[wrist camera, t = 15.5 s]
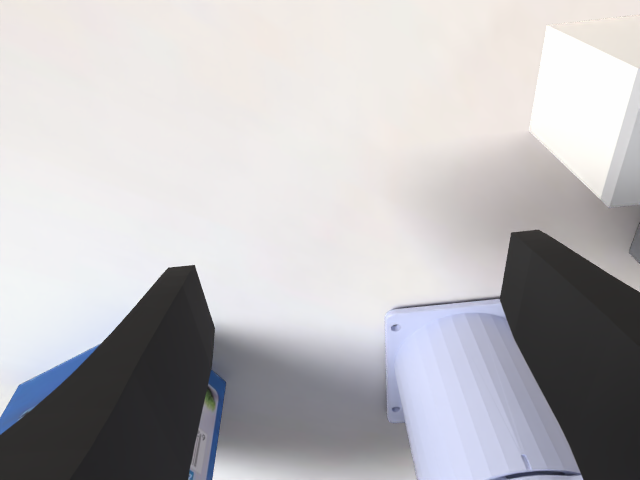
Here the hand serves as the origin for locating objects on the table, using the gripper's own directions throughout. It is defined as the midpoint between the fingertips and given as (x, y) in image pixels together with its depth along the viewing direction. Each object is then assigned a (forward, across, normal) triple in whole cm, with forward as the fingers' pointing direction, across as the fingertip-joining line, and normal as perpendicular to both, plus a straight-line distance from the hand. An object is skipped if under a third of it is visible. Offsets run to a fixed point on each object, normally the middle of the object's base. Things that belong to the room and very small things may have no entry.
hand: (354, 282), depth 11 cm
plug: (+10, -10, -1) cm, 14 cm away
